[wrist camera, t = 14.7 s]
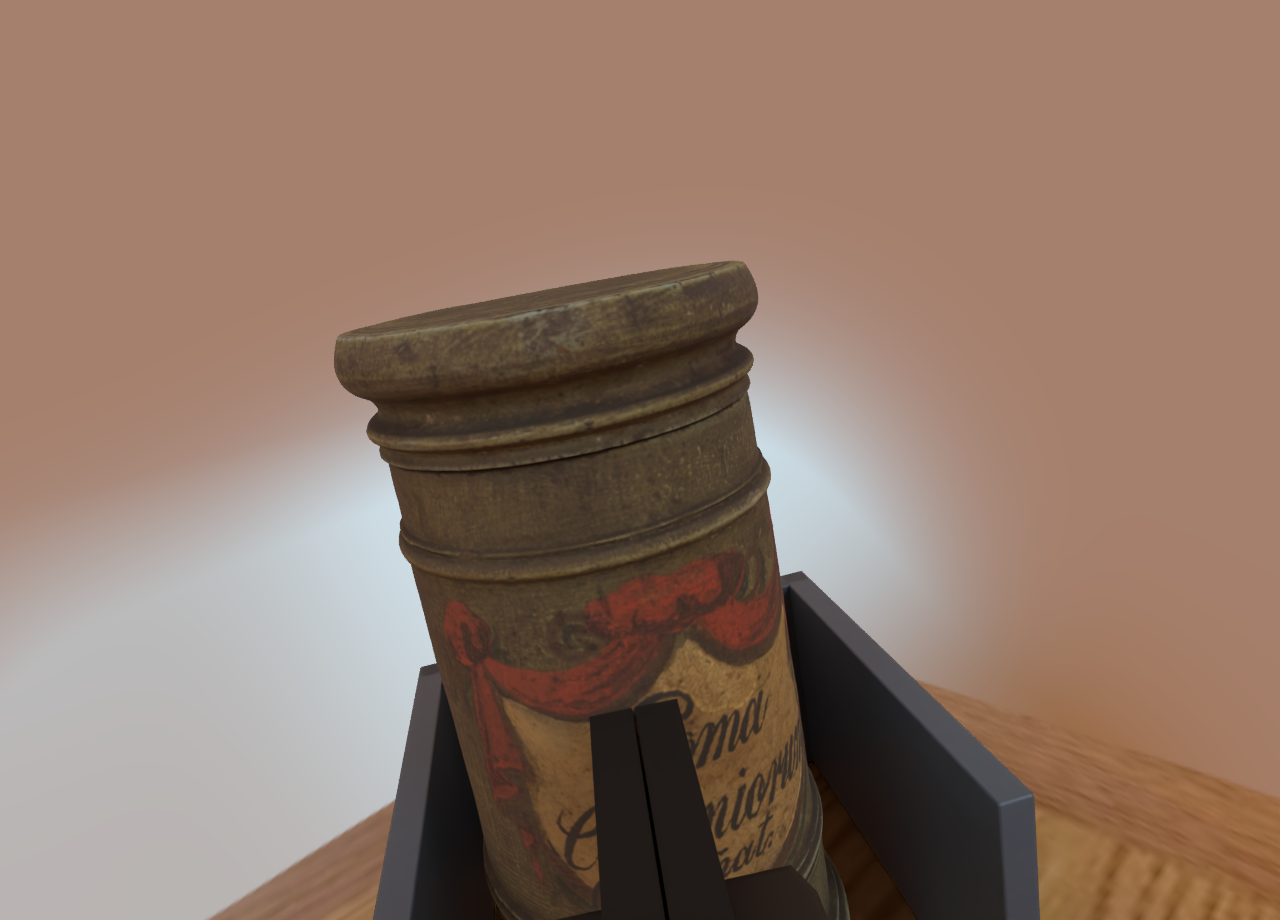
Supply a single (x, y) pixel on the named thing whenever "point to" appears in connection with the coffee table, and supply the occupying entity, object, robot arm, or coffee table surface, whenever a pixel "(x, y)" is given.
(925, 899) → the grey u-shaped piece
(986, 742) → the coffee table surface
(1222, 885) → the coffee table surface
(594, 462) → the container
